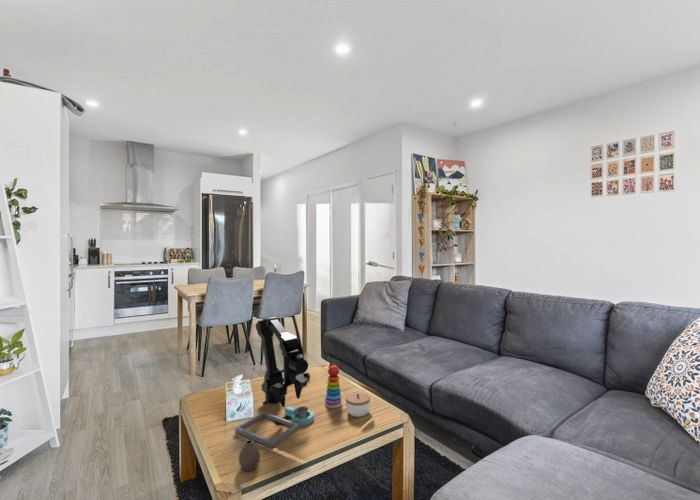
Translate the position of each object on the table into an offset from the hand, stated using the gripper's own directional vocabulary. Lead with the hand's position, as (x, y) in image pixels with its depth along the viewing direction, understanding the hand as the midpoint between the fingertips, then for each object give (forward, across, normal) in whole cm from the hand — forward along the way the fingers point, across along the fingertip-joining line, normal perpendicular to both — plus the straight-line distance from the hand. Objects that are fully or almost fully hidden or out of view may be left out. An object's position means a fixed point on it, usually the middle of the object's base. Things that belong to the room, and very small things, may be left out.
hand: (290, 402), depth 148 cm
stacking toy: (+7, +18, -10) cm, 21 cm away
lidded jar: (+7, +17, -24) cm, 30 cm away
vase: (+7, -32, -11) cm, 34 cm away
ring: (+6, 0, -4) cm, 7 cm away
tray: (+6, -14, 0) cm, 15 cm away
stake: (+6, 0, -7) cm, 9 cm away
